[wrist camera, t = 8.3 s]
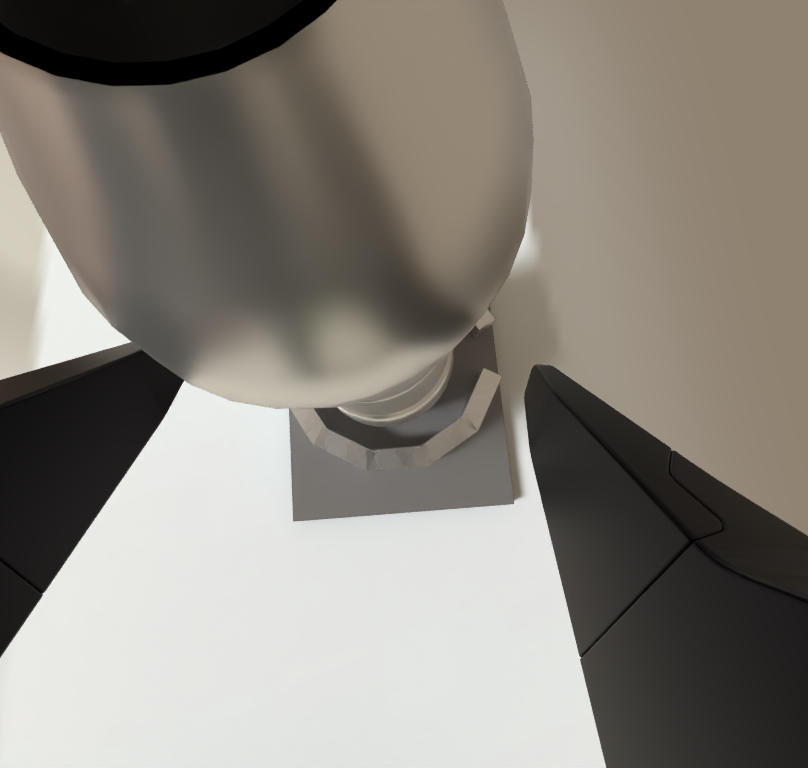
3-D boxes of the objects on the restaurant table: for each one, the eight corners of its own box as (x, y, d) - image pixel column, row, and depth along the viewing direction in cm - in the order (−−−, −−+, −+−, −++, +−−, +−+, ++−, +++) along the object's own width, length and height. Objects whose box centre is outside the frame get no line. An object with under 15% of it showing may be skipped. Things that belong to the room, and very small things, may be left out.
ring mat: (511, 501, 19) (514, 504, 18) (297, 518, 19) (293, 521, 19) (477, 226, 21) (479, 220, 21) (286, 245, 22) (283, 240, 21)
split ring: (504, 457, 19) (512, 459, 17) (295, 474, 19) (284, 478, 17) (480, 259, 20) (485, 244, 19) (287, 277, 21) (277, 264, 19)
